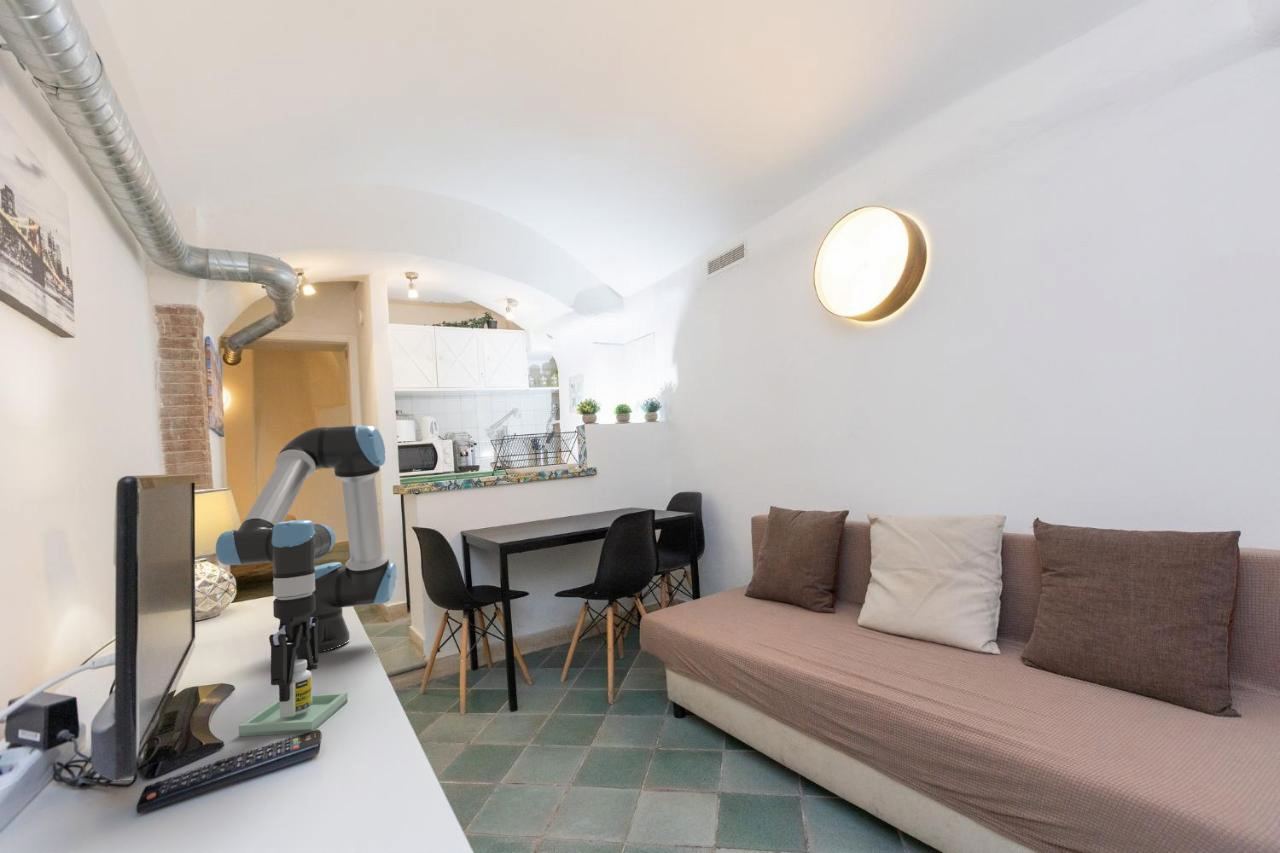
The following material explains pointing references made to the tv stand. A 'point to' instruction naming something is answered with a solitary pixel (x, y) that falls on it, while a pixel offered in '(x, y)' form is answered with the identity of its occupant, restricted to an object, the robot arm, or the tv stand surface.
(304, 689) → the supplement bottle
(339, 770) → the tv stand surface
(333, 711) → the tray
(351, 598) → the robot arm
